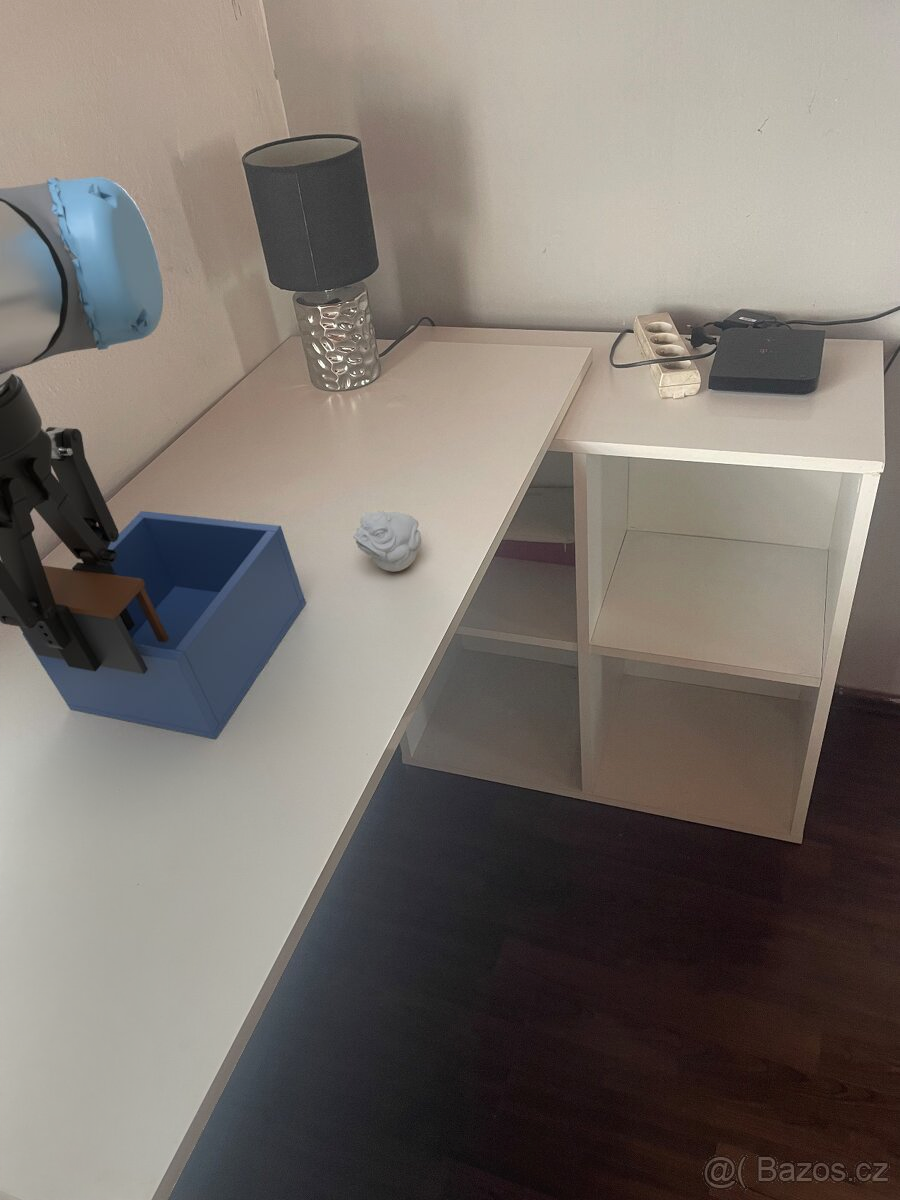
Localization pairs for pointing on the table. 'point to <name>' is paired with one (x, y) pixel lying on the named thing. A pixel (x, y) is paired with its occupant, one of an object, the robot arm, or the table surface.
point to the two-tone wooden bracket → (100, 615)
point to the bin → (192, 622)
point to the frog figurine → (389, 539)
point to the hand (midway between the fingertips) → (102, 644)
